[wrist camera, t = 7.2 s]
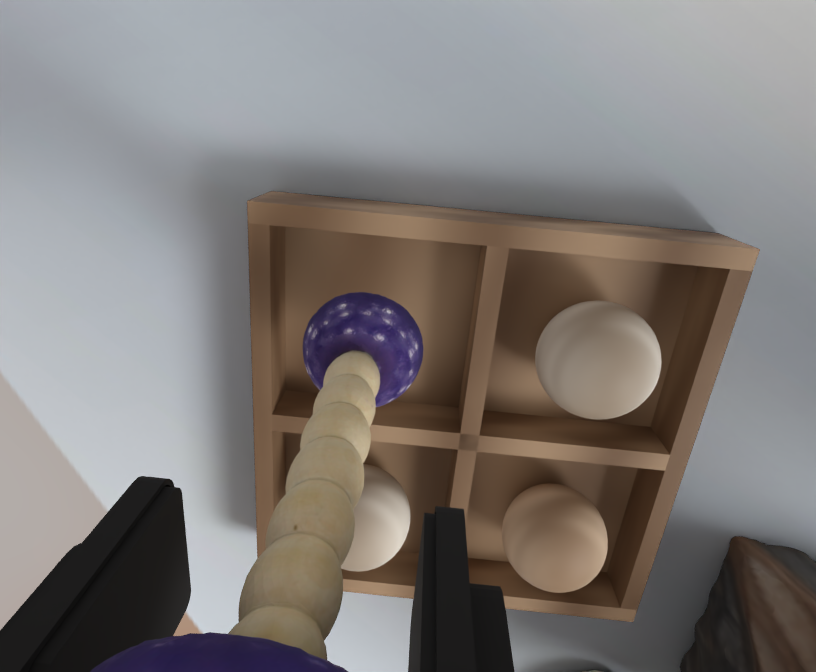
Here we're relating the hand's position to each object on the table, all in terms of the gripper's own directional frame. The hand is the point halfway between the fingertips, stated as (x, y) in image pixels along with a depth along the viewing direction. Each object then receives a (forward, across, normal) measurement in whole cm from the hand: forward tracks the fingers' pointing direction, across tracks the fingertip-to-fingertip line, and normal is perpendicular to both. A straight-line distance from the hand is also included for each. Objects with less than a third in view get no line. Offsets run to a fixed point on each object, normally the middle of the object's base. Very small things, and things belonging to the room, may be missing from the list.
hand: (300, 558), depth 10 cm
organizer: (+14, -4, +4) cm, 16 cm away
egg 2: (+14, -9, 0) cm, 16 cm away
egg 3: (+14, -9, +9) cm, 19 cm away
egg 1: (+14, 0, +9) cm, 16 cm away
